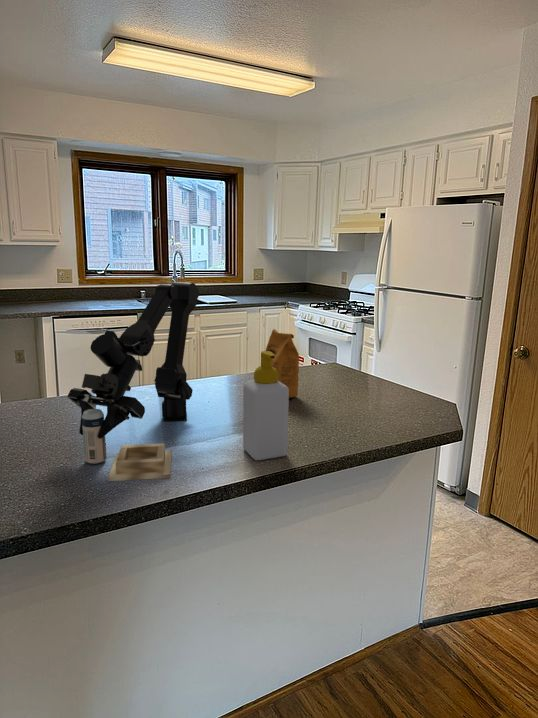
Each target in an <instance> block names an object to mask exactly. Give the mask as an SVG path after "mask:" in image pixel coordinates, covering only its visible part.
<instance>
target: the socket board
mask: <svg viewBox="0 0 538 718" xmlns="http://www.w3.org/2000/svg"><path fill="white" fill-rule="evenodd" d="M172 457H173V450H166V443H164V442H163V443H147V444H146V443H145V444H125V445H123V444H121V446H120V448H119V452H115V456H114V459H113V462H112V464H111V467H110V470H109V474H108V477H107V482H122V481H138V480H139V481H140V480H155V479H156V480H157V479H158V480H159V479H171V473H172V459H173V458H172Z"/></svg>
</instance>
